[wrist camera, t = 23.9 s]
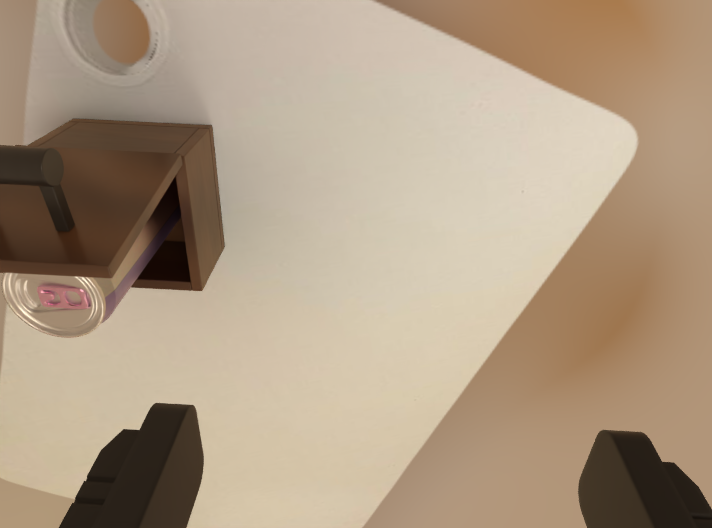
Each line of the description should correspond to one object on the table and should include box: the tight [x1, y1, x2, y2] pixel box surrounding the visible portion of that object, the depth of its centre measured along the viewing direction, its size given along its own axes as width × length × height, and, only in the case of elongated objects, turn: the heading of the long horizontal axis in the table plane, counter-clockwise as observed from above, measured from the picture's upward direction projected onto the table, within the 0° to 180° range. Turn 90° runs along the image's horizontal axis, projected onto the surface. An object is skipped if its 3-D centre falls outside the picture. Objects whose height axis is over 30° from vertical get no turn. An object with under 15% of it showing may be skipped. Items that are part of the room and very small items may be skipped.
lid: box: [0, 145, 182, 278], centre depth 28 cm, size 11×11×5 cm
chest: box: [27, 119, 225, 291], centre depth 40 cm, size 11×11×7 cm
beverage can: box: [2, 177, 181, 338], centre depth 36 cm, size 6×6×15 cm
